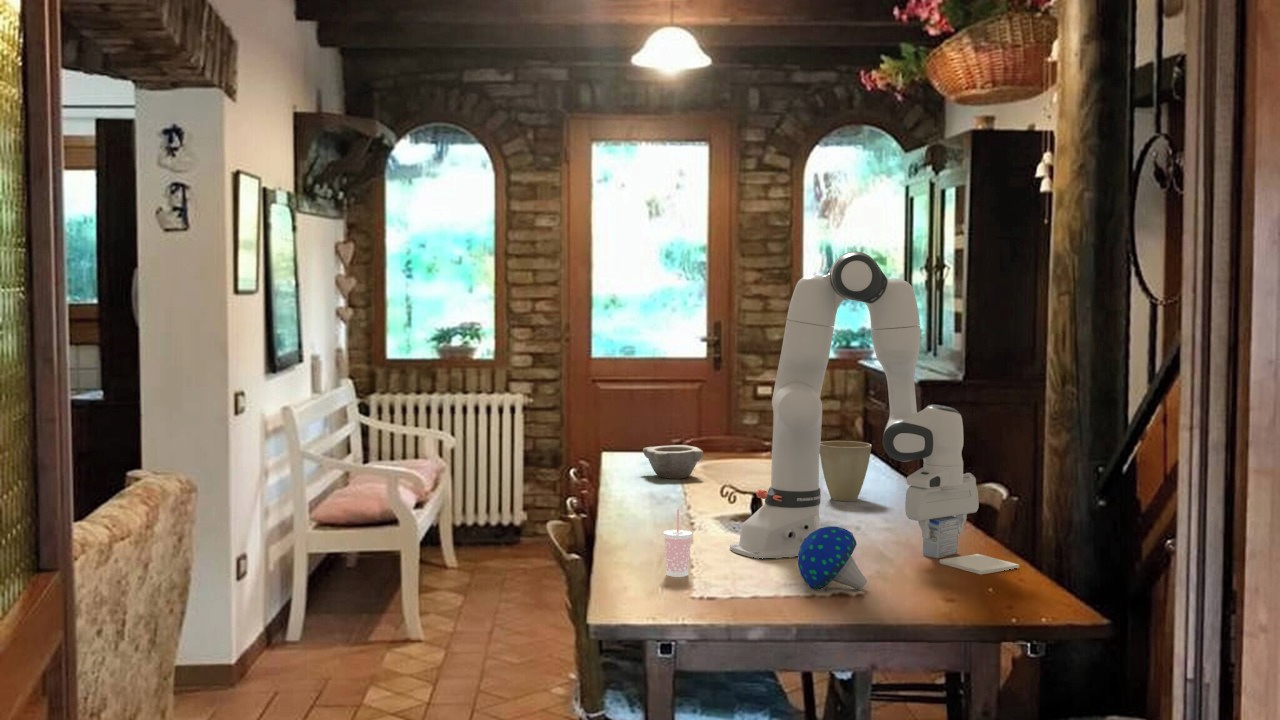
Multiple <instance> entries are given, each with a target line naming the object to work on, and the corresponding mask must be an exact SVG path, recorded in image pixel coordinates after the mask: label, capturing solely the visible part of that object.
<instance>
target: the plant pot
mask: <svg viewBox="0 0 1280 720" xmlns="http://www.w3.org/2000/svg"><path fill="white" fill-rule="evenodd" d="M871 451H872V444H871V443H868V442H864V441H863V442H862V441H850V440H848V441H847V440H830V441H821V442H820V454H819V459H820V462H821V464H820V465H821V468H822V472H823V477H824V482H825V484H826V488H827V490H828V494H829V497H830V500H833V501H837V500H838V502H839V501H840V502H855V501H857V500H858V498H859V495H860V493H861V490H862V488H863V485H864V482H865V478H866V474H867V471H868V467H869V463H870V458H871Z"/></svg>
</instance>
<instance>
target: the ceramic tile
mask: <svg viewBox="0 0 1280 720" xmlns="http://www.w3.org/2000/svg"><path fill="white" fill-rule="evenodd" d="M939 564H941V565H944V566H947V567H952V568H956V569H959V570H963V571H966V572H969V573H974V574H978V575H985V574H986V575H987V574H991V573H992V574H993V573H998V572H1003V571H1004V570H1005V571H1010V570H1009V569H1011V570H1015V569H1014V568H1017V569H1020V564H1018V563H1014V562H1012V561H1007V560H1003V559H999V558H996V557H995V558H994V557H991V556H989V555H985V554H980V553H975V554H966V555H961V556H955V557H948V558H942V559H939Z"/></svg>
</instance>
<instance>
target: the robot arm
mask: <svg viewBox="0 0 1280 720" xmlns="http://www.w3.org/2000/svg"><path fill="white" fill-rule="evenodd" d="M848 300H850V301H857V302H863V303H864V304H865V305H866V307H867V309H868V312H869V318H870V330H871V332H870V333H871V341H872V345H873V349H874V354H875V355H876V356H875V357H876V359H877V361H878V362H879V364H880V366H881V367H882V369H883V371H884V375H885V377H886V381H887V391H888V405H889V413H888V414H889V415H888V419H887V422H886V423H885V427H884V432H883V435H882V446H883V450H884V452H885V453H886V455H888V456H889V457H890V458H891V459H893V460H894V461H898V462H904V463H906V462H910V461H916V460H923V467H920V468H919V469H918V470H915V471H914V472H913V473H911V474H909V475H908V476H907V477H906V484H907V485H908V488H907V490H906V493H905V502H904V503H905V504H904V505H905V507H904V509H905V515H906V517H907V519H908V520H911V521H917V524H918V526H919V527H920V529H921V533H922V535H921V537H922V538H925V539H929V538H932V531H931V530H929V527H928V524H929V519H935V518H942V517H948V516H954V517H958V518H959V526H958V535H959V534H962V533H963V532H964V531H963V530H964V525H965V523H966V521H967V519H968V517H967V516H968V514H974V513H977V511H978V509H979V503H980V501H979V500H980V499H979V494H978V493H979V491H978V486H977V479H976V478H977V477H975V475H974V474H972V473H971V472H965V473H964V460H963V455H962V451H963V447H964V425H963V418H962V414H961V413H960V412H959V411H958V410H957V409H955V408H953V407H951V406H947V405H941V404H928V405H927V406H926V407H925V408H924V409H922V410H920V411H918V408H917V407H918V406H917V397H916V383H915V372H916V366H917V363H918V361H919V356H920V349H921V348H920V347H921V323H920V314H919V313H920V312H919V308H918V303H917V298H916V295H915V290H914V288H913V286H912V285H911V284H910V283H909V282H908V281H906V280H903V279H901V278H888V277H887V276H886V275H885V273H884V272H883V270H882V269H881V267H880V266H879V264H878V263H877V262H876V261H875V259H873V257H871V256H870V255H869V254H867V253H865V252H862V251H850V252H846V253H844V254H841V256H839V257H838V258H837V259H836V260H835V262H834V263H833V264H832V266H831V267H830V269H828V271H827V272H826V274H825V275H824V274H823V275H816V274H812V275H806V276H803V277H802V278H800V279H799V280H798V281H797V283H796V285H795V287H794V291H793V293H792V296H791V299H790V302H789V307H788V310H787V316H786V320H785V326H784V327H785V329H784V334H783V339H782V344H781V350H780V351H781V352H780V358H779V362H778V367H777V372H776V377H775V382H774V386H773V387H774V389H773V394H772V398H771V406H772V411H773V415H772V416H773V419H772V423H773V424H772V428H773V429H772V445H771V472H770V473H771V478H770V479H771V481H770V482H771V484H770V486H769V488H768V491H766V490H763V489H758V490H757V491H756V493H755V494H756V497H757V498H759V499H762V500H764V504H763V505H761V506H760V508H758V509H757V510H756V511H755V512H754V513H753V514H752V515H751V516H750V517H749V518H747V519H746V520H745V521H744V522H743V524H742V526H741V530H740V535H739V542H733V543H730V544H729V545H730V546H729V550H731V551H732V552H734V553H736V554H738V555H742V556H745V557H749V558H753V557H754V559H759V558H762V559H761V560H764V559H763V558H776V559H781V558H780V557H789V558H794V557H793V556H798V553H799V550H800V546H801V545H802V543H803V542H804V540H805V539H806V538H807V536H808V535H809V534H811V533H812V532H814V531H816V530H818V529H820V528H821V522H820V504H821V488H820V485H819V483H820V482H819V481H820V442H822V439H821V438H822V422H823V402H822V400H821V393H822V389H823V384H824V380H825V375H826V372H827V367H828V365H829V364H828V363H829V360H830V353H831V347H832V340H833V336H834V335H833V334H834V330H835V329H834V328H835V323H836V317H837V312H838V309H839V307H840V305H841V303H842V302H844V301H848Z"/></svg>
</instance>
